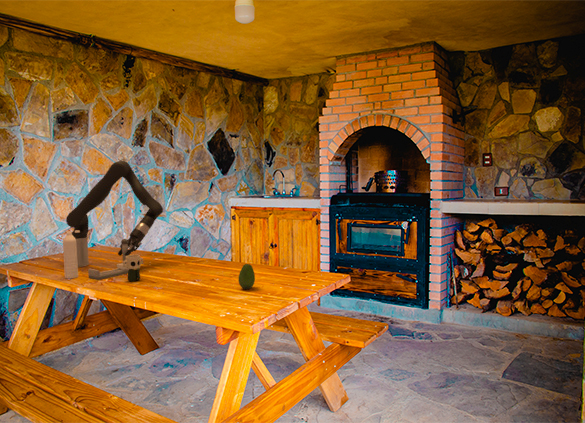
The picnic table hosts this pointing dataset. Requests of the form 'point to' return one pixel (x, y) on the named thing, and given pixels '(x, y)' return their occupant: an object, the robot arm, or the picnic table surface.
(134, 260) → the toy figurine
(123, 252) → the carriage
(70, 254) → the water bottle
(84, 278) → the picnic table surface
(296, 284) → the picnic table surface
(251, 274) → the fruit
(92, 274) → the rail board
